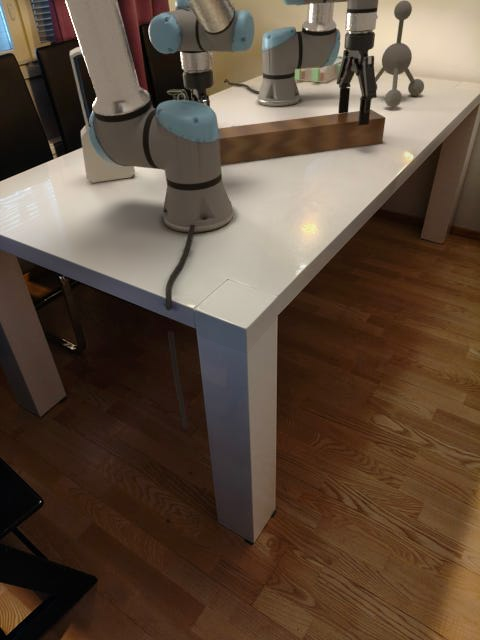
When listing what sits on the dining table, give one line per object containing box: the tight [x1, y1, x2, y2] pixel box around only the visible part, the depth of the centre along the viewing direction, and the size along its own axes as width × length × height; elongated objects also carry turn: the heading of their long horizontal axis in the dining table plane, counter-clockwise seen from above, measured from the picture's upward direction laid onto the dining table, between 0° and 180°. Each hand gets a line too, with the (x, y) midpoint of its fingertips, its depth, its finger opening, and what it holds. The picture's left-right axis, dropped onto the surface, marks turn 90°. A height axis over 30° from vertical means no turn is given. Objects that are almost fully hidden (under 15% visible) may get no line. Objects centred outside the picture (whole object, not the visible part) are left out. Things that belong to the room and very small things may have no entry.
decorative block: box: [295, 55, 343, 84], centre depth 207 cm, size 26×6×20 cm
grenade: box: [166, 89, 189, 101], centre depth 162 cm, size 7×6×10 cm
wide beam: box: [218, 109, 386, 166], centre depth 136 cm, size 59×9×7 cm, turn 104°
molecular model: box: [375, 0, 425, 108], centre depth 166 cm, size 24×22×30 cm
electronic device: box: [69, 46, 136, 184], centre depth 120 cm, size 12×8×30 cm, turn 105°
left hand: (205, 159), depth 135 cm, fingers closed on wide beam, 9 cm apart
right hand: (352, 118), depth 137 cm, fingers open, 13 cm apart
